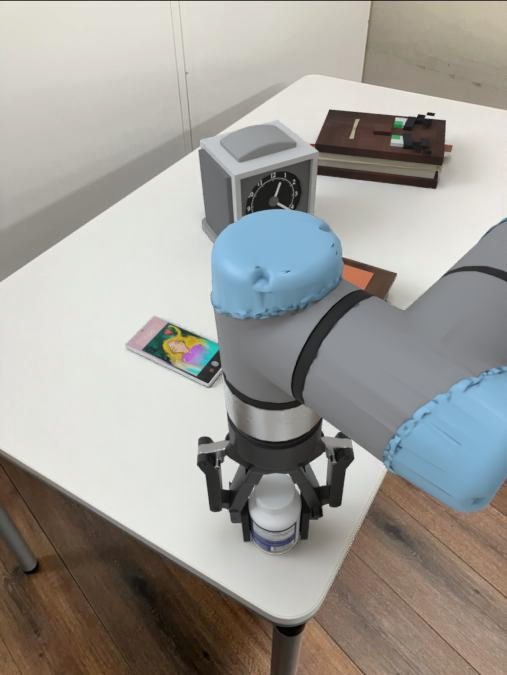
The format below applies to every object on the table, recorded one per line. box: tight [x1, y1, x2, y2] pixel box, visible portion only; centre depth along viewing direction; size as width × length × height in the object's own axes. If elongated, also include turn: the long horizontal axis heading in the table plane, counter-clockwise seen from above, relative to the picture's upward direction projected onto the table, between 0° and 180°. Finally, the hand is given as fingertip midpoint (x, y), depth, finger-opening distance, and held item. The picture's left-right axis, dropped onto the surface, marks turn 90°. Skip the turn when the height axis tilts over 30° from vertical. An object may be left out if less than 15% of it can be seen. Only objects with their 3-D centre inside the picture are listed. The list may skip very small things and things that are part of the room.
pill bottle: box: [248, 473, 302, 555], centre depth 52 cm, size 5×5×10 cm
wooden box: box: [342, 256, 398, 302], centre depth 76 cm, size 13×21×5 cm, turn 151°
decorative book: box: [309, 108, 453, 190], centre depth 109 cm, size 19×8×30 cm
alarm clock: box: [197, 119, 319, 244], centre depth 88 cm, size 18×13×18 cm
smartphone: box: [124, 315, 222, 388], centre depth 74 cm, size 7×1×15 cm
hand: (274, 528), depth 56 cm, fingers closed on pill bottle, 5 cm apart
